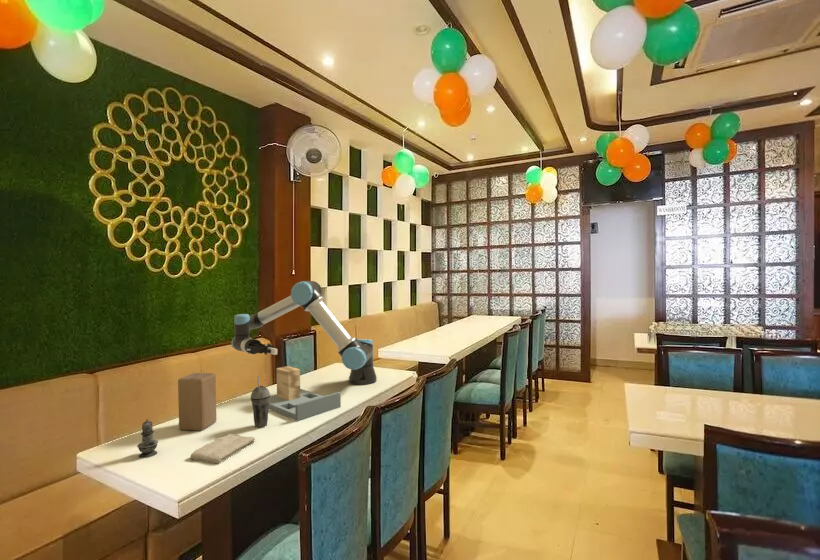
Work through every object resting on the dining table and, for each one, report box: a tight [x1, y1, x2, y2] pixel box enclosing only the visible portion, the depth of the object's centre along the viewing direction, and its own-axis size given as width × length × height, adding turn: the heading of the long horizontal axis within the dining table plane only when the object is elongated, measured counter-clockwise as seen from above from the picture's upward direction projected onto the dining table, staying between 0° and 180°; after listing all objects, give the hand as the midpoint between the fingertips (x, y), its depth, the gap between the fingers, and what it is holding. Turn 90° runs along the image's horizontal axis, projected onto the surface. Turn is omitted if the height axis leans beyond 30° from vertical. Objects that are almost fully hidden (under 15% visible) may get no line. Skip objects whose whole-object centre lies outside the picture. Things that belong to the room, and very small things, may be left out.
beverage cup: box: [250, 375, 271, 429], centre depth 158 cm, size 7×7×20 cm
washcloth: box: [190, 433, 256, 465], centre depth 137 cm, size 12×18×3 cm, turn 162°
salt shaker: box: [136, 418, 159, 459], centre depth 135 cm, size 6×6×12 cm
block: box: [177, 372, 218, 431], centre depth 159 cm, size 10×10×20 cm
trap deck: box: [268, 388, 342, 422], centre depth 182 cm, size 22×32×6 cm
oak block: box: [275, 365, 301, 400], centre depth 187 cm, size 6×10×13 cm, turn 49°
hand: (275, 351), depth 193 cm, fingers closed
